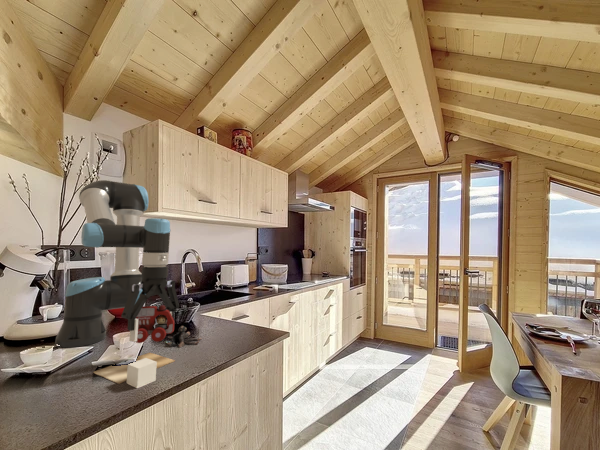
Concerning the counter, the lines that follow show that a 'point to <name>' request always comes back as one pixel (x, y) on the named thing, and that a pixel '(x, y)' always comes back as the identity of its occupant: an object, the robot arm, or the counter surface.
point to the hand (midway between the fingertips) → (151, 335)
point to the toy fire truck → (148, 322)
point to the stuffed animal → (182, 339)
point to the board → (120, 372)
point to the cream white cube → (141, 372)
